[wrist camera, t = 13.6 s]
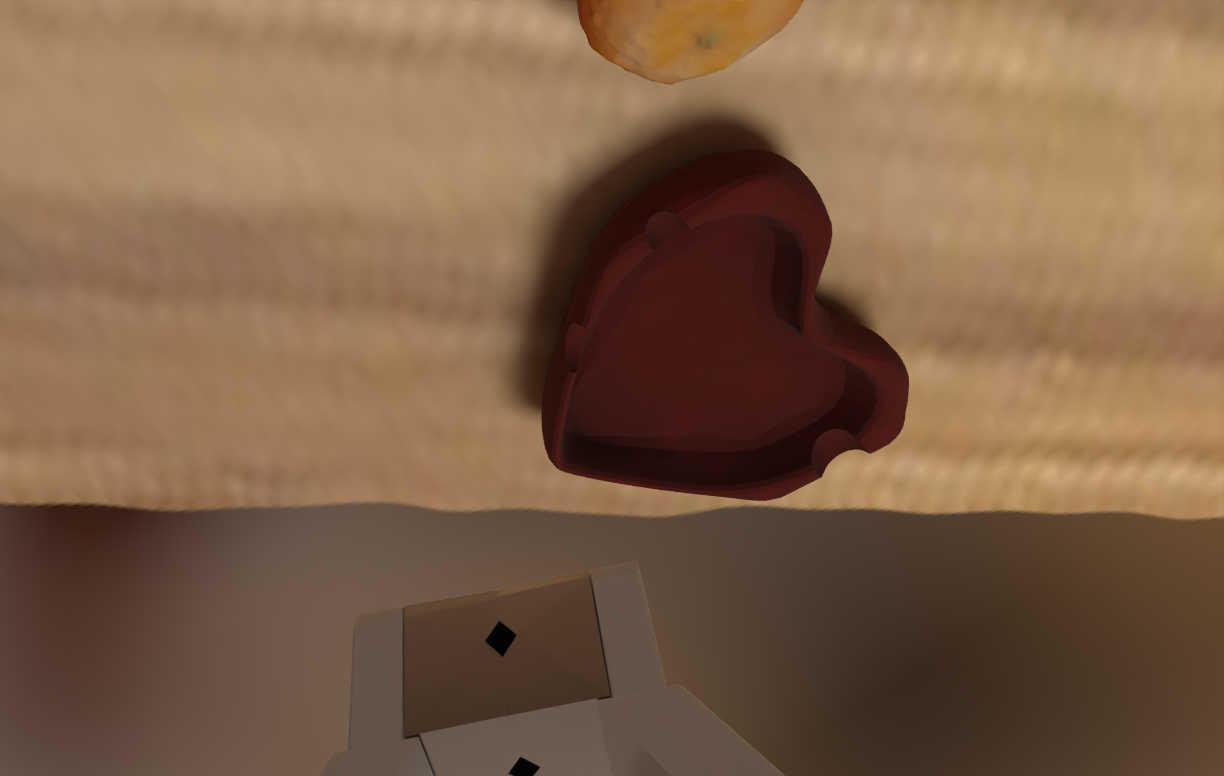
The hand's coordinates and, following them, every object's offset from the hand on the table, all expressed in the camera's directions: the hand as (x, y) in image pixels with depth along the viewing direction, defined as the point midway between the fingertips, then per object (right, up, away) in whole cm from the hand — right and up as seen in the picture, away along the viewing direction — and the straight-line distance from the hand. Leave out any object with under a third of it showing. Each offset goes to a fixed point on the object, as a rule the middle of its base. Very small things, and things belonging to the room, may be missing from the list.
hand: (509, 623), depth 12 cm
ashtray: (+5, +6, +41) cm, 42 cm away
